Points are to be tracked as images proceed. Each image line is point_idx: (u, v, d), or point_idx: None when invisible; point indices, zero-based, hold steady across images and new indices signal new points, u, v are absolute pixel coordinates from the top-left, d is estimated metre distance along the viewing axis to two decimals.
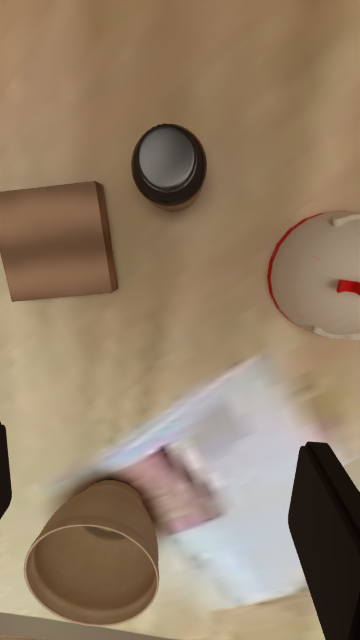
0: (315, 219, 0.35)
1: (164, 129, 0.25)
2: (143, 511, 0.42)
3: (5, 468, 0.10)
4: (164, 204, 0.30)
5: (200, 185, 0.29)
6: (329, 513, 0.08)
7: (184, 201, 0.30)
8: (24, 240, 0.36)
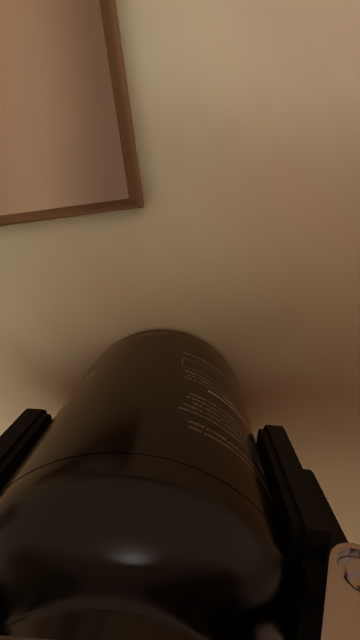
0: None
1: None
2: None
3: None
4: None
5: None
6: (274, 486, 0.08)
7: None
8: None
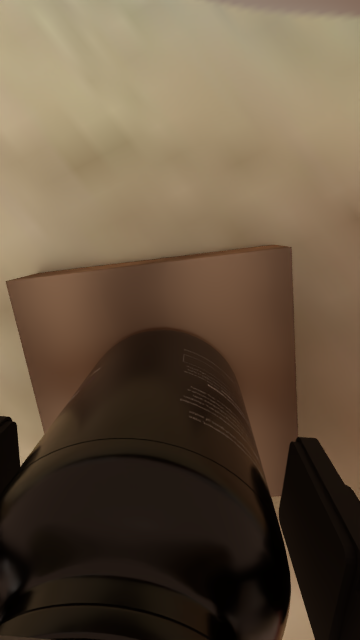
0: None
1: None
2: None
3: (16, 464, 0.10)
4: None
5: None
6: (316, 506, 0.08)
7: None
8: None
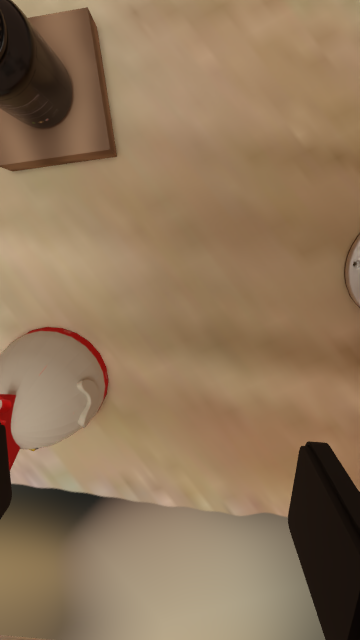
0: (92, 365, 0.39)
1: None
2: None
3: (5, 468, 0.10)
4: None
5: None
6: (329, 513, 0.08)
7: None
8: None
